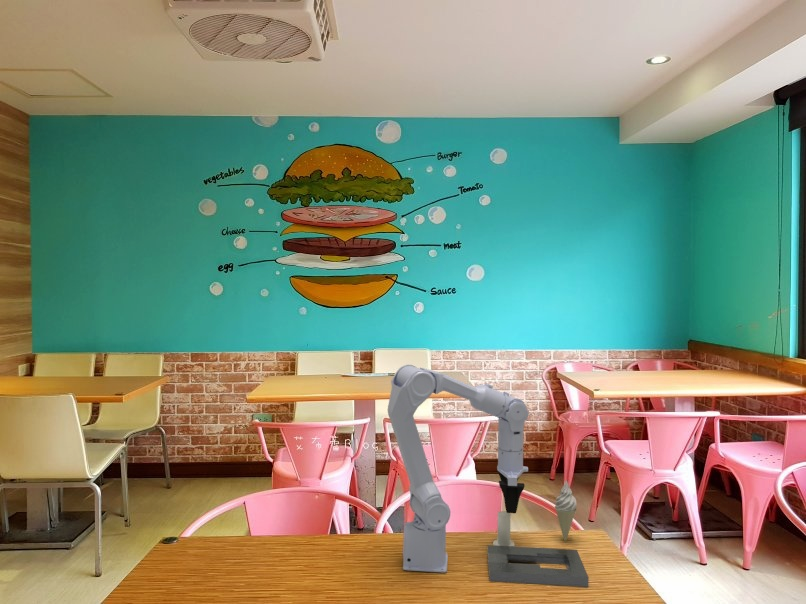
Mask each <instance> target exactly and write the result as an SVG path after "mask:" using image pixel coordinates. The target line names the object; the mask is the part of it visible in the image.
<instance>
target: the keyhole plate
mask: <svg viewBox="0 0 806 604" xmlns="http://www.w3.org/2000/svg"><path fill="white" fill-rule="evenodd" d="M486 551H487V554H488V555H487V565H488V566H487V567H488V577H489V578H488V579H489V580H488V581H489V582H496V583H497V582H498V583H512V584H513V583H514V584H515V583H516V584H531V585H547V586H548V585H549V586H561V587H562V586H563V587H580V588H581V587H582V588H589V575H588V573H587V570H586V569H585V566H584V563H583V561H582V558H581V556H580V553H579V551H578V549H569V548H551V547H550V548H548V547H536V546H535V547H534V546H533V547H531V546H497V545H493V544H487V549H486ZM513 561H515V562H516V563H515V562H513ZM517 562H518V563H517ZM531 563H532V564H531ZM533 563H534V564H533ZM540 564H553V565H566V568H553V567H552V568H551V567H541V565H540Z"/></svg>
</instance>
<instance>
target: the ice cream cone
mask: <svg viewBox="0 0 806 604" xmlns="http://www.w3.org/2000/svg"><path fill="white" fill-rule="evenodd" d="M567 480H568V479H565V481H564V484H563V485H562V487H561V489H560V493H559V494H558V495H557V497H556V498H555V500H556V502H555V506H554V508H555V510H556V516H557V518H558V523H559V526H560V530H561V531H560V532H561V535H562V538H563V541H564V542H567V539H568V536H569V532H570V530H571V528H572V523H573V519H574V517H575V514H576V511H577V499H576V497H575V496H574V495H573V491H572V489H571V487H570V485H569V483H568V481H567Z"/></svg>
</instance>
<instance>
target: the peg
mask: <svg viewBox="0 0 806 604" xmlns="http://www.w3.org/2000/svg"><path fill="white" fill-rule="evenodd" d="M511 514H512V513H507V512H506V510H500V511H497V539H495V540H494V541H493V544H492V545H497V546H515V542H514V541H513V540H511V518H512V517H511Z"/></svg>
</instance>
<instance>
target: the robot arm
mask: <svg viewBox="0 0 806 604" xmlns="http://www.w3.org/2000/svg"><path fill="white" fill-rule="evenodd" d="M390 384H391V391H390V395H389V399H388V405H387V415H388V417H389V421H390V423H391V427H392V431H393V433H394V436H395V439H396V444H397V447H398V450H399V453H400V455H401V459H402V462H403V465H404V468H405V471H406V475H407V478H408V481H409V484H410V485H409V487H408V491H409V494H410V495H409V496H410V497H409V506H410V508H411V511H412V512H413V513H414V516H413V520H412V521H406V522H405V523H404V526H403V543H402V544H403V545H402V546H403V548H402V557H403V558H402V563H403V565H402V569H403V571H412V572H413V571H414V572H426V573H427V572H429V573H444V574H445V573H447V571H448V558H449V554H448V553H447V551H446V550H447V549H446V548H447V545H446V544H447V541H446V540H447V538H446V537H447V536H446V535H447V532H446V531H447V528H446V526H447V524H448V523H449V520H450V518H451V508H450V506H449V505H448V503H446V501H444V500H443V497H442V494H441V491H440V490H439V489H438V486H437V485H436V483H435V481H434V478H433V475H432V472H431V469H430V466H429V461H428V459H427V457H426V454H425V450H424V447H423V443H422V440H421V437H420V434H419V430H418V427H417V424H416V420H415V418H414V414H415V413H416V411H417V410H418V408H419V407H420V406H421V405H422V404H423V403H424V402H425V401H427V400H428V398H430V397H431V396H432V394H435V395H438V394H440V393H441V392H445V393H446V392H447V393H449V394H452V395H455V396H458V397H460V398H464V399H465V400H469V403H470V405H471V407H472V408H473V409H475V410H477V411H481V412H483V413H486V414H487V415H491V416H493V417H497V419H498V423H497V424H498V426H497V427H498V435H497V436H498V440H497V441H498V442H497V443H498V445H497V466H496V469H497V470H496V471H497V473H498V476H499V478H500V480H498V485H499V486H498V487H499V488H500V489H501V492H502V494H503V495H502V496H503V499H504V501H503V502H504V507H505V511H506V512H507V513H510V514H517V511H518V507H519V502H520V497H521V496H522V493H523V491H524V488H525V483H523V482H521V483H520V482H518V481H519V478H520V477H521V475H522V474H523V473H527V472H529V467H528V466H524V429H525V422H526V420H527V419H528V417H529V415H530V411H529V410H528V407H527V404H526V403H525V402H524V401H523V400H521V399H519V398H516V397H513V396H511V395H510V393H509V392H508V391H503V392H502V391H499V390H496V389H494V386H493V385H492V384H489V383H485V384H478V385H476V386H472V385H469V384H467V383H466V382H463V381H461V380H458V379H456V378H454V377H451V376H449V375H448V374H445V373H443V372H439V371H436V370H433V369H432V370H431V369H428V368H424V367H417V366H415V365H413V364H405V365H403V366H401V367H399V368H398V370H397V371H396V373H395V374H394V376H393V377H392V378H391V381H390Z"/></svg>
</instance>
